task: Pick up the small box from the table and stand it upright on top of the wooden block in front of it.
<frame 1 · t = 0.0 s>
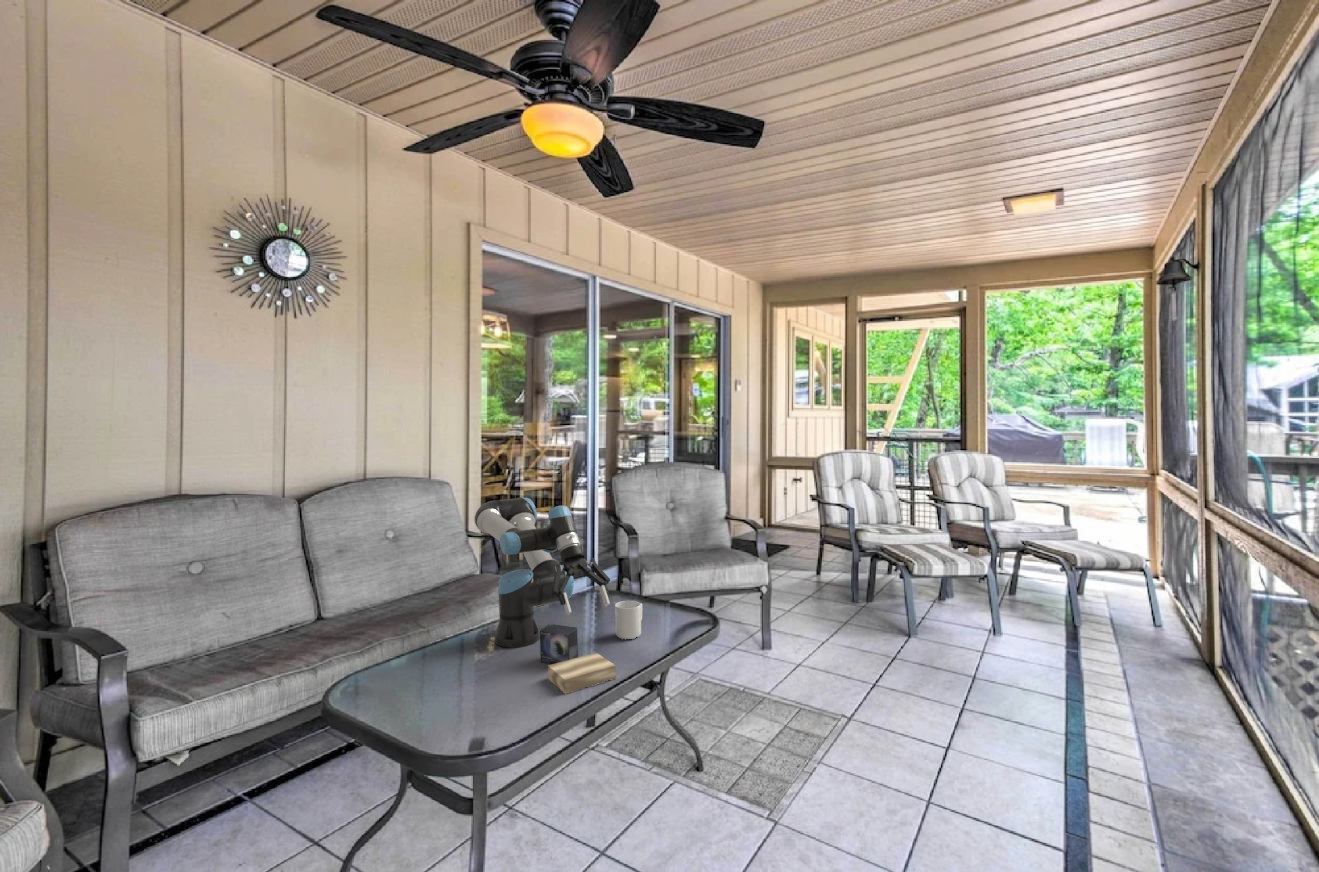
hand: (588, 609, 192), 15 cm above the table, tool tilted 35°, fingers open, 13 cm apart
small box: (559, 662, 190), on the table
mug: (631, 635, 211), on the table
wooden block: (581, 679, 176), on the table
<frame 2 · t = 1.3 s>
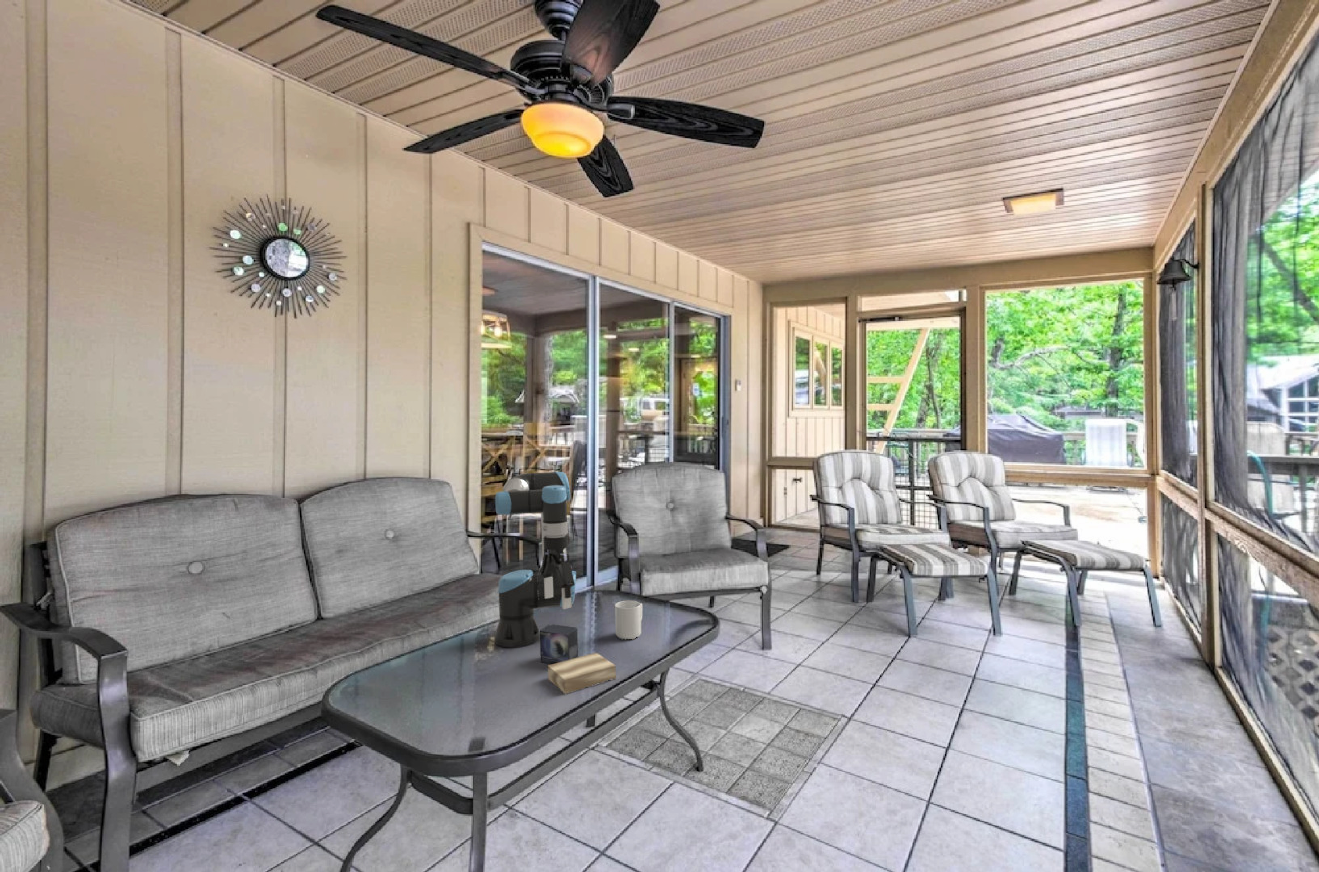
hand: (557, 602, 189), 19 cm above the table, tool pointing down, fingers open, 13 cm apart
nothing on the table moved.
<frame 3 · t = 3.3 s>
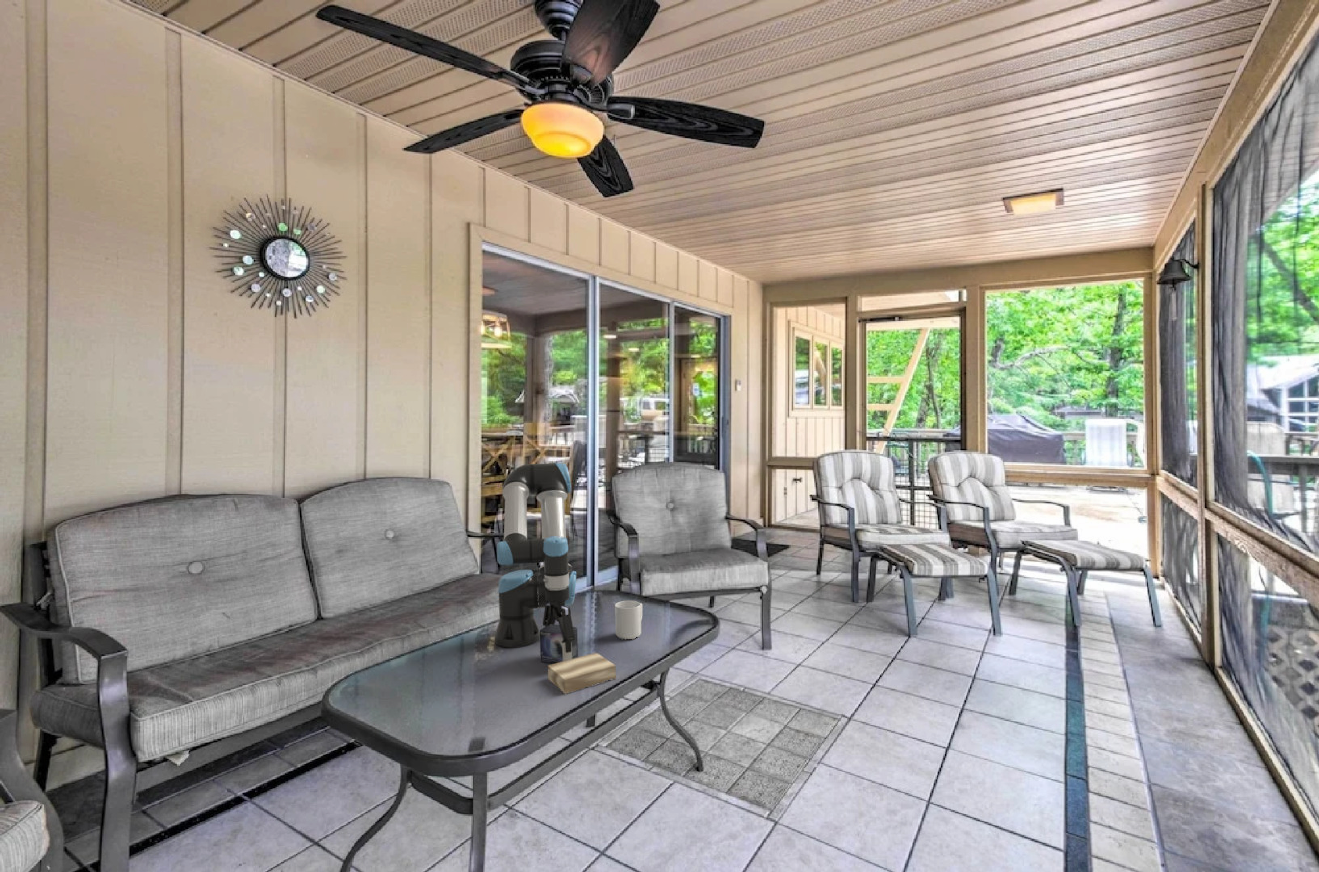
hand: (559, 655, 190), 2 cm above the table, tool pointing down, fingers closed on small box, 12 cm apart
small box: (559, 662, 190), on the table, touching gripper
everything else where it was.
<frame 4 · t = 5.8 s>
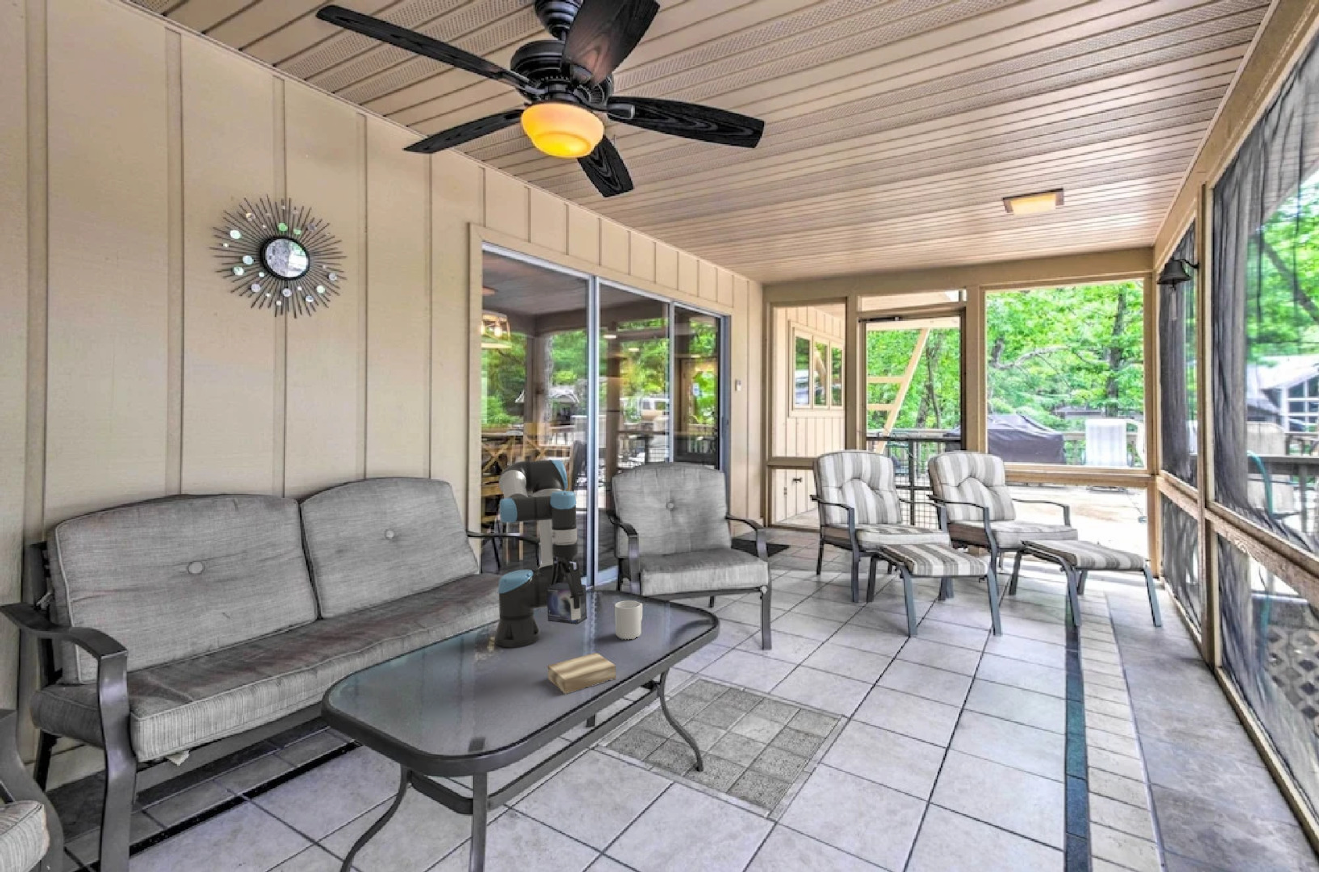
hand: (567, 614, 182), 17 cm above the table, tool pointing down, fingers closed on small box, 12 cm apart
small box: (567, 620, 183), point 15 cm above the table, touching gripper
everything else where it was.
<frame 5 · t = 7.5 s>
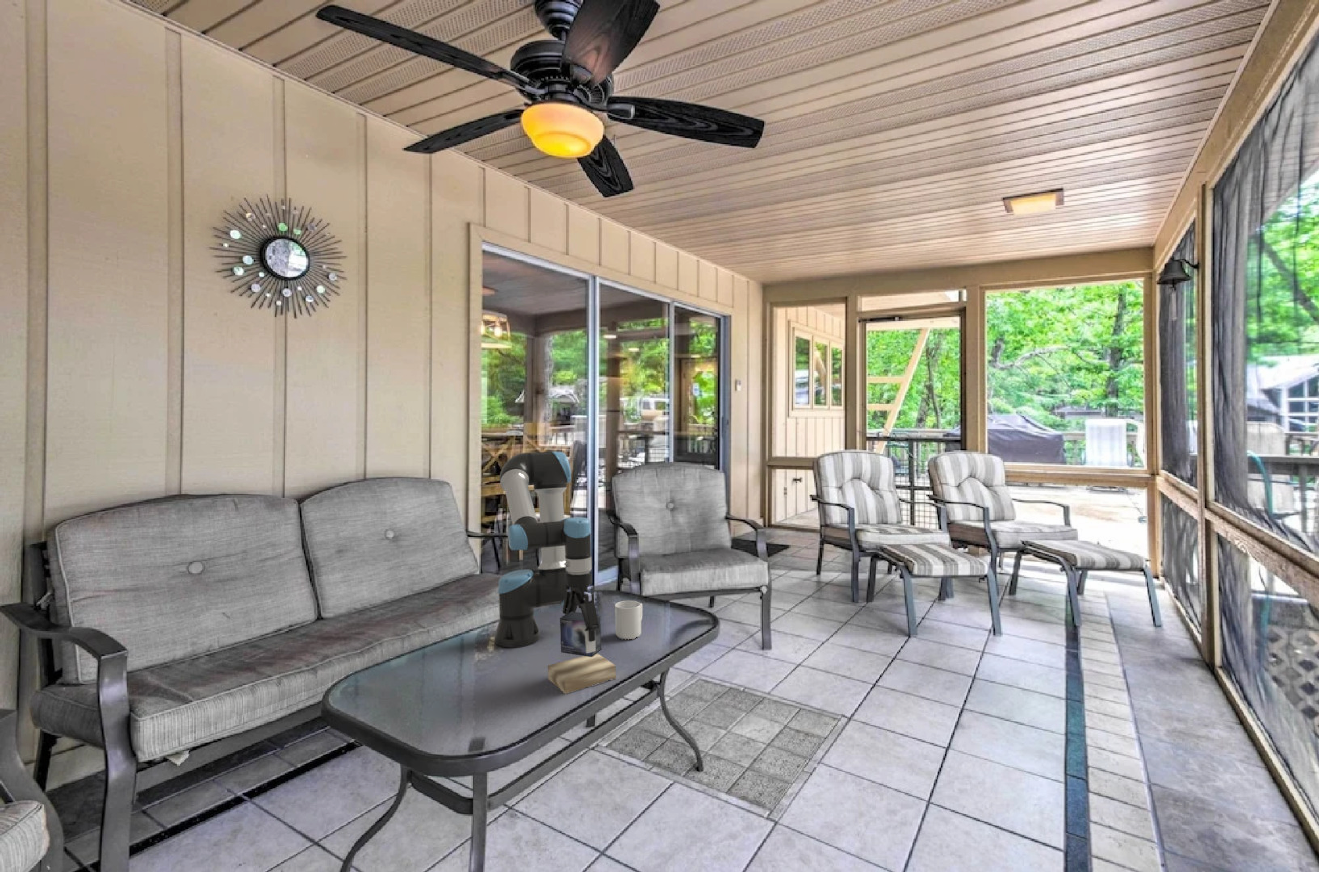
hand: (581, 645, 176), 10 cm above the table, tool pointing down, fingers closed on small box, 12 cm apart
small box: (581, 652, 176), point 8 cm above the table, touching gripper
everything else where it was.
when the fingers open (7 cm above the table, at t = 8.7 s): small box drops 1 cm, resting on wooden block.
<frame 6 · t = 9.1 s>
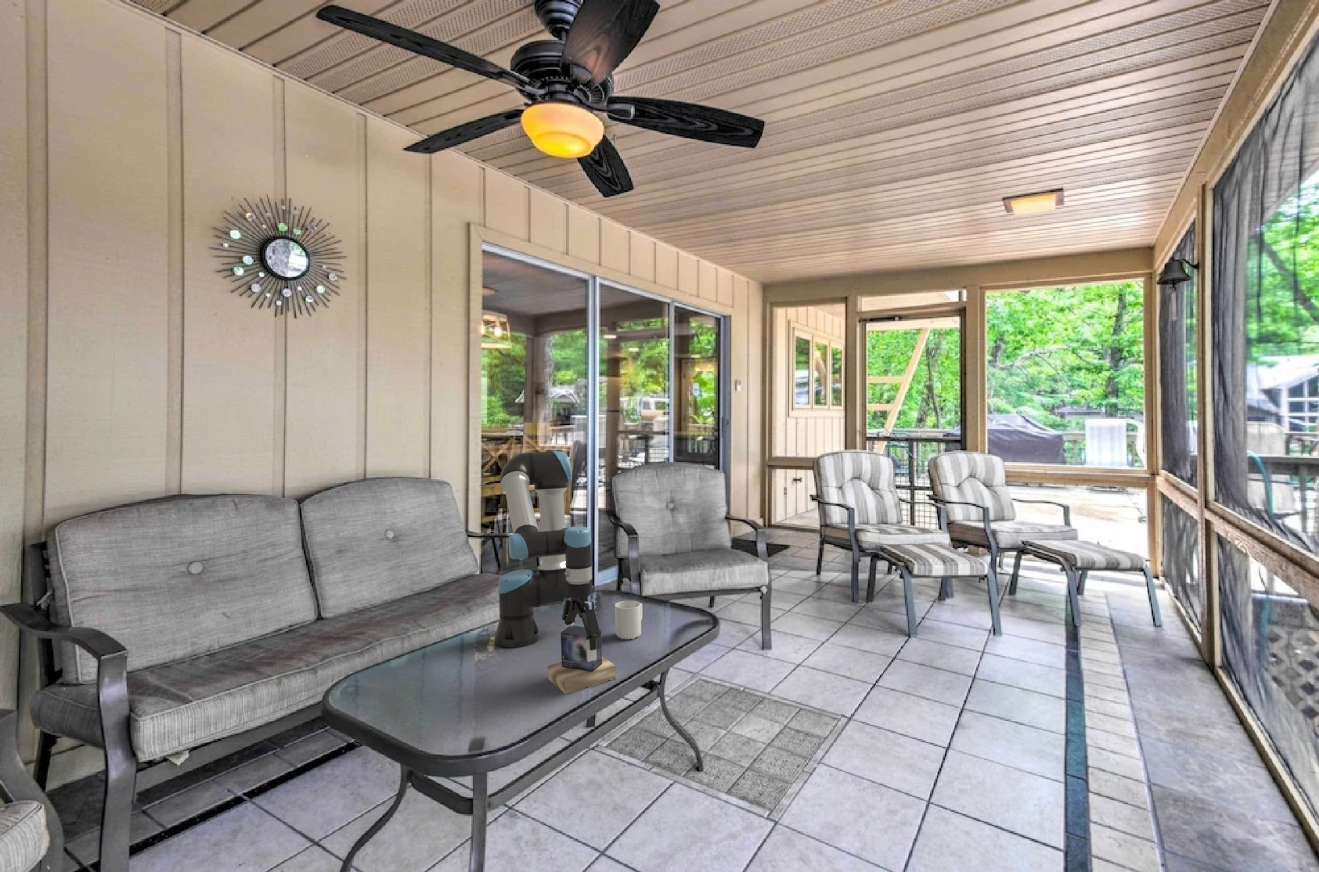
hand: (581, 653, 176), 8 cm above the table, tool pointing down, fingers open, 13 cm apart
small box: (581, 666, 176), point 4 cm above the table, touching wooden block
everything else where it was.
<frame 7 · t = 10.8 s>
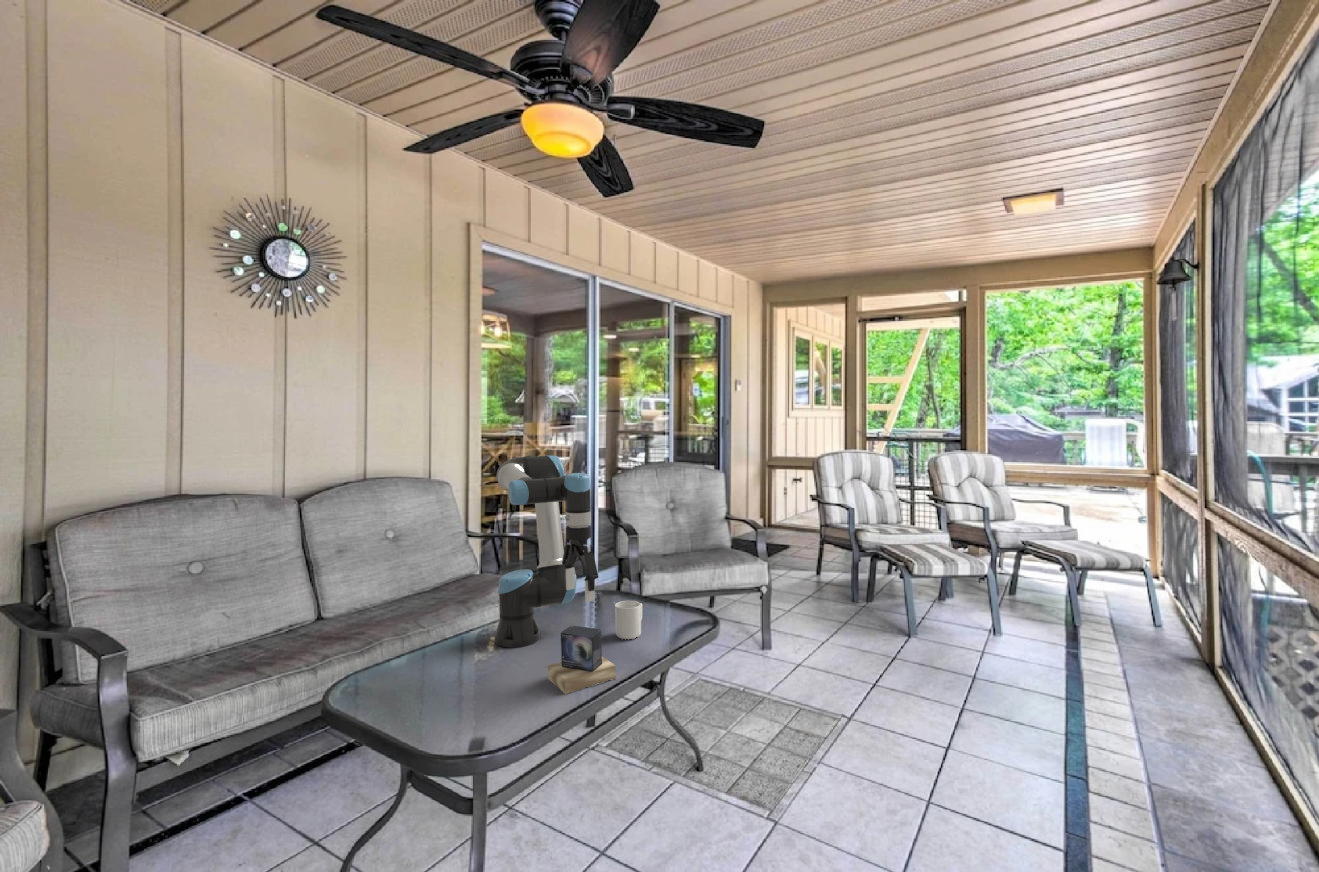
hand: (580, 595, 182), 23 cm above the table, tool pointing down, fingers open, 13 cm apart
nothing on the table moved.
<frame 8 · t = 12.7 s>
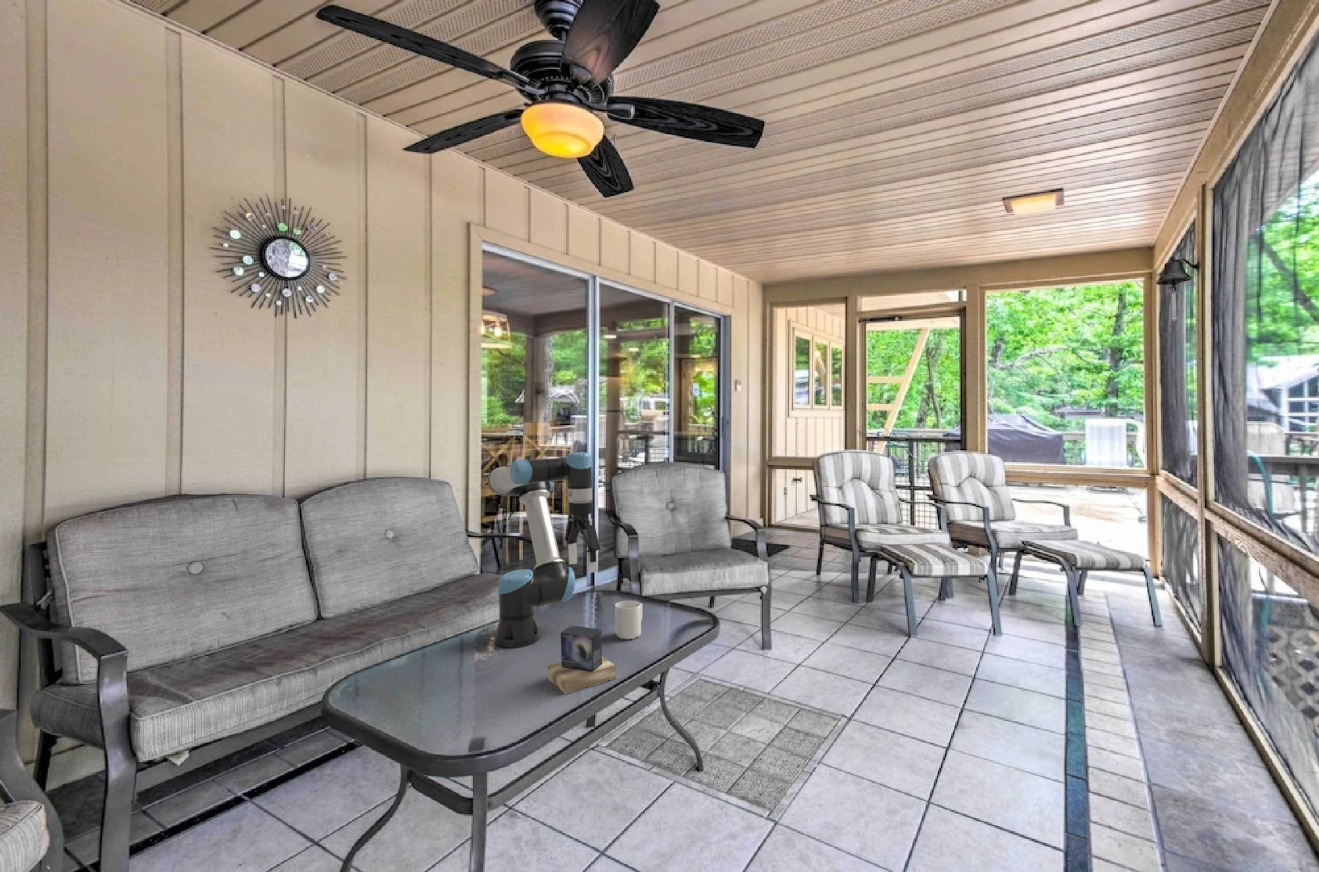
hand: (582, 567, 192), 29 cm above the table, tool pointing down, fingers open, 13 cm apart
nothing on the table moved.
at the end: small box 0.2 cm off-centre on the wooden block, point 3.8 cm above the wooden block's base; small box tilted 0°; the gripper is holding nothing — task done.
